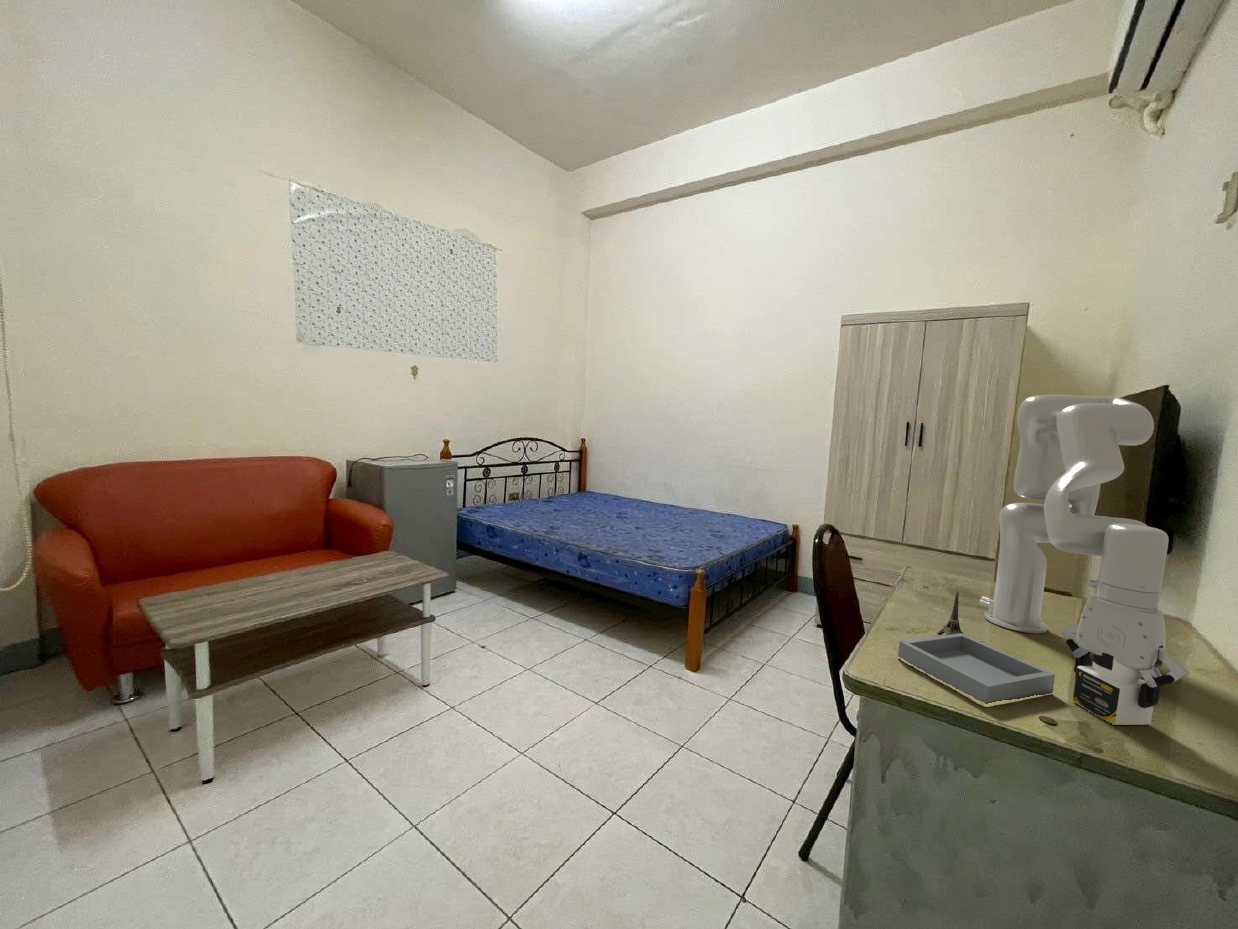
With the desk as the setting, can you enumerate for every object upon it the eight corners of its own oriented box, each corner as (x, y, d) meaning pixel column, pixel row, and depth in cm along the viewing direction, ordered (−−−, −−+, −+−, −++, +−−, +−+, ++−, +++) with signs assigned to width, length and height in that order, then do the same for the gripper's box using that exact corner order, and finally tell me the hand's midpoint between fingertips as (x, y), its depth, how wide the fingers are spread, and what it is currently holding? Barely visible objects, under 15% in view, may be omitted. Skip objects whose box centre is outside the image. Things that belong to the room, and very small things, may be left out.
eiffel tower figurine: (966, 661, 104) (973, 601, 103) (915, 642, 113) (921, 586, 111) (991, 645, 113) (998, 589, 112) (942, 629, 121) (948, 577, 120)
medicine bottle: (1071, 702, 89) (1079, 639, 88) (1106, 702, 90) (1115, 639, 88) (1113, 726, 82) (1123, 658, 81) (1151, 726, 82) (1162, 659, 81)
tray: (897, 659, 102) (899, 641, 102) (958, 650, 108) (960, 633, 108) (985, 708, 85) (988, 686, 85) (1052, 694, 91) (1055, 674, 91)
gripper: (1054, 580, 91) (1042, 670, 92) (1186, 617, 74) (1169, 725, 76) (1079, 578, 93) (1067, 665, 95) (1213, 613, 77) (1195, 718, 78)
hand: (1112, 691), depth 85 cm, fingers closed on medicine bottle, 8 cm apart
